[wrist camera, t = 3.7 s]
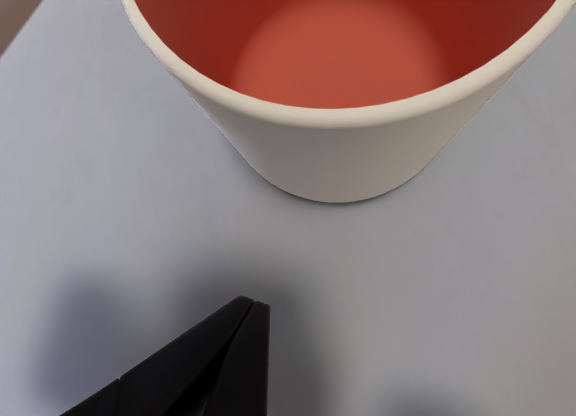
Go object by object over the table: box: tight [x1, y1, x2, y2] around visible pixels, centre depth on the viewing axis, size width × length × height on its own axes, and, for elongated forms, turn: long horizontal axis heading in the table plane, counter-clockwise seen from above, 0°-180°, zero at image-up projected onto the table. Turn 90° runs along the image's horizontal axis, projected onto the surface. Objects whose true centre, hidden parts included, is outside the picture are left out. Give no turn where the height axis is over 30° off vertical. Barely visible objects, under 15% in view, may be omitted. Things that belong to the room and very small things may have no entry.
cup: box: [121, 0, 576, 203], centre depth 12 cm, size 10×10×10 cm
